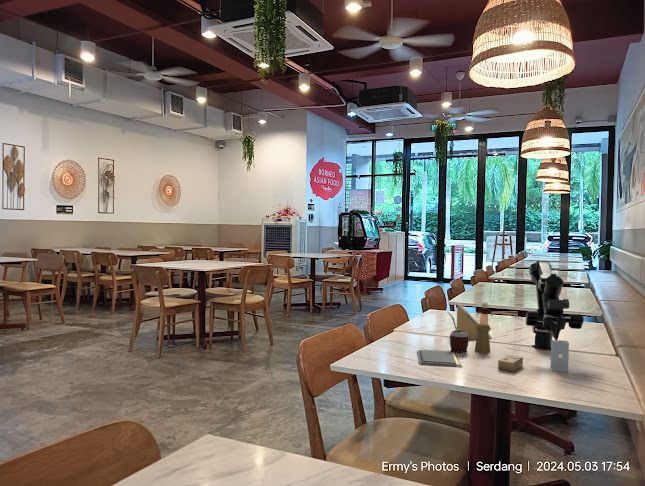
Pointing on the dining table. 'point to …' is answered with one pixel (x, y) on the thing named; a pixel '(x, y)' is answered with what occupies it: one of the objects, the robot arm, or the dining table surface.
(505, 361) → the brown rectangular box
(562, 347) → the grey rectangular block
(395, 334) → the dining table surface
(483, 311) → the grandmother figurine
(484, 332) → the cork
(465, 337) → the mate gourd
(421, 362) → the grey notebook
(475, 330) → the sandwich container
